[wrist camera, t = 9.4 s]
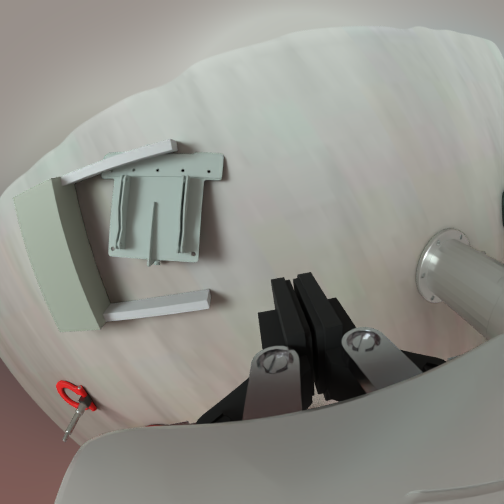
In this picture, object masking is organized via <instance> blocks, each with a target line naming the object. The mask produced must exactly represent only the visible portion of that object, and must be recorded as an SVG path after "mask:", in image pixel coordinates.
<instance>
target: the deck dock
mask: <svg viewBox="0 0 504 504" xmlns="http://www.w3.org/2000/svg"><path fill="white" fill-rule="evenodd" d="M175 151H178V148H177V142H176V141H175V140H172V139H168V140H165V141H161V142H157V143H154V144H150V145H147V146H143V147H140V148H137V149H134V150H130V151H127V152H124V153H121V154H118V155H115V156H112V157H110V158H107V159H104V160H101V161H98V162H96V163H93V164H91V165H88V166H85V167H83V168H80V169H78V170H75V171H73V172H71V173H68V174H66V175H64V176H61V177H57V178H51V179H49V180H47V181H45V182H43V183H41V184H39V185H36V186H34V187H32V188H30V189H29V190H27V191H25V192H23V193H21V194H19V195H17V196H15V197H13V199H14V204H15V209H16V213H17V218H18V222H19V226H20V229H21V233H22V237H23V240H24V244H25V247H26V250H27V253H28V256H29V260H30V262H31V265H32V268H33V271H34V274H35V276H36V279H37V282H38V284H39V287H40V289H41V292H42V294H43V297H44V299H45V301H46V304H47V306H48V308H49V310H50V313H51V315H52V317H53V319H54V321H55V323H56V325H57V327H58V329H59V331H60V332H72V331H88V330H100V329H101V328H102V326H103V325H104V324H105V322H107V321H117V320H127V319H136V318H144V317H152V316H160V315H168V314H175V313H183V312H190V311H197V310H203V309H209V307H210V301H211V294H210V291H209V289H206V290H200V291H193V292H187V293H181V294H174V295H168V296H161V297H155V298H148V299H141V300H134V301H127V302H120V303H112V304H111V303H110V301H109V298H108V296H107V293H106V291H105V288H104V285H103V283H102V280H101V277H100V274H99V272H98V269H97V266H96V263H95V260H94V257H93V254H92V250H91V247H90V244H89V241H88V237H87V234H86V230H85V226H84V223H83V219H82V215H81V211H80V207H79V203H78V198H77V194H76V189H75V184H74V183H77V182H79V181H82V180H85V179H87V178H90V177H93V176H96V175H99V174H101V173H102V172H105V171H108V170H111V169H114V168H118V167H121V166H124V165H127V164H131V163H134V162H137V161H141V160H144V159H148V158H151V157H155V156H159V155H163V154H167V153H171V152H175Z"/></svg>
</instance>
